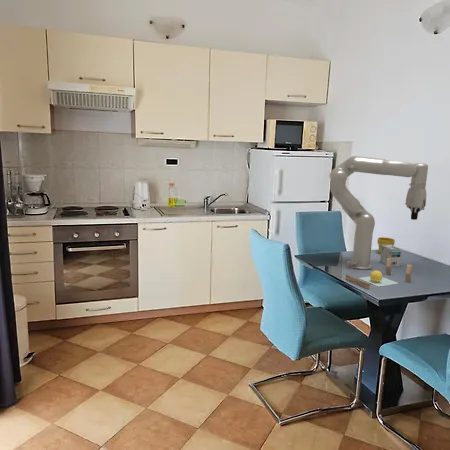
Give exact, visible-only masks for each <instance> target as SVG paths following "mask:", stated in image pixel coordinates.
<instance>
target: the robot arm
mask: <svg viewBox="0 0 450 450" xmlns="http://www.w3.org/2000/svg"><path fill="white" fill-rule="evenodd" d="M428 170H429V165H428V164H427V163H416V162H415V163H412V162H404V161H403V162H402V161H394V160H390V159H389V160H388V159H385V158H377V157H367V156H359V155H358V156H357V155H352V156H350V157H349V158H346V160H344V161H343V162H342V163H340V164H339V165H337V166H336V167H334V168H333V169H332V170H331V171H330V172H329V179H330V183H329V190H330V193H331V195H332V196H333V198H334V199H335V200H336V201H337V203H338V204H339V205H340V206H341V208H342V210H343V211H344V213H345V214H346V215H347V216H348V217H349V218H350V219H351V220H352V221H353V222H354V224H355V225H356V226H355V231H354V239H353V251H352V258H351V259H350V260H346V261H345V264H346V265H348V266H349V267H350V268H353V269H356V270H363V271H364V270H367V271H368V270H371V269H372V268H373V265H372V264H370V263H371V253H372V246H373V245H372V244H373V234H374V229H375V225H376V221H375V217H374V215H373V214H372V213H370V212H368V211H367V209H366V208H364V206H363V205H362V204H361V202H360V200H359V199H358V198H356V197H355V195H353V194H352V193H351V191H350V190H349V188H348V187H347V186H346V182H347V180H348V177H350V176H351V175H353V174H354V173H362V174H372V175H380V176H394V177H402V178H411V179H410V183H409V186H410V187H409V188H408V189H407V193H406V198H405V203H404V205H405V206H406V208H408V209H409V210H410V213H411V214H410V220H413V221H415V220H416V221H417V220H418V218H419V213H420V212H422V211H425V207H426V206H427V189H426V187H427V178H428V172H429V171H428Z"/></svg>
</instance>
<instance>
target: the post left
mask: <svg viewBox="0 0 450 450" xmlns="http://www.w3.org/2000/svg"><path fill="white" fill-rule="evenodd" d="M391 266H392V258H387V264H386V265H385V272H384V273H385V275H387V276H391V273H392V267H391Z"/></svg>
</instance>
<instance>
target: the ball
mask: <svg viewBox="0 0 450 450" xmlns="http://www.w3.org/2000/svg"><path fill="white" fill-rule="evenodd" d="M369 276H370V278H371V280H372V281H373V282H380V281H381V280H382V278H383V274H382V272H381V271H379V270H373V271H371V272H370V275H369Z"/></svg>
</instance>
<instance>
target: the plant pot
mask: <svg viewBox="0 0 450 450" xmlns="http://www.w3.org/2000/svg"><path fill="white" fill-rule="evenodd" d="M395 242H396V240H395V239H394V238H392V237H385V236H383V237H381V236H380V237H378V238H377V244H378V252H379V254H380V255H381V249H382V245H392V246H395V244H396V243H395Z"/></svg>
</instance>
